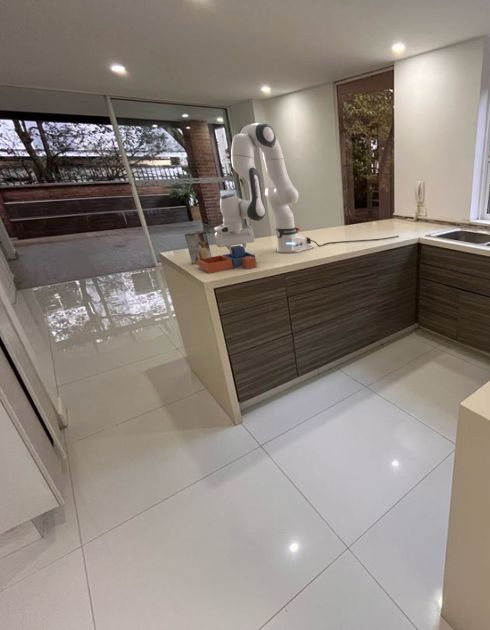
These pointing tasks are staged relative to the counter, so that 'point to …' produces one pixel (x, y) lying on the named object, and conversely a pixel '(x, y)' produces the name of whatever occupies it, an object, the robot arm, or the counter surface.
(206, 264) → the clay bin
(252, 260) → the clay block
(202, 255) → the coffee box
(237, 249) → the blue block
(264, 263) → the counter surface
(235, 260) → the blue bin
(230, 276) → the counter surface
